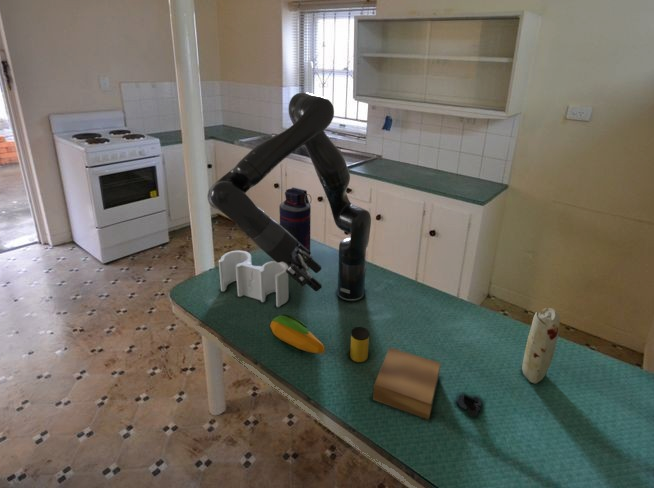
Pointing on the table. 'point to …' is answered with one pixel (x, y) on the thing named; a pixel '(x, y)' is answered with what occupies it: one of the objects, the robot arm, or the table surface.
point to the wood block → (407, 382)
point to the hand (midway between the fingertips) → (319, 279)
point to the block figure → (469, 404)
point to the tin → (359, 344)
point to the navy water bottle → (296, 215)
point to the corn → (295, 334)
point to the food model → (541, 344)
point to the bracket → (254, 277)
